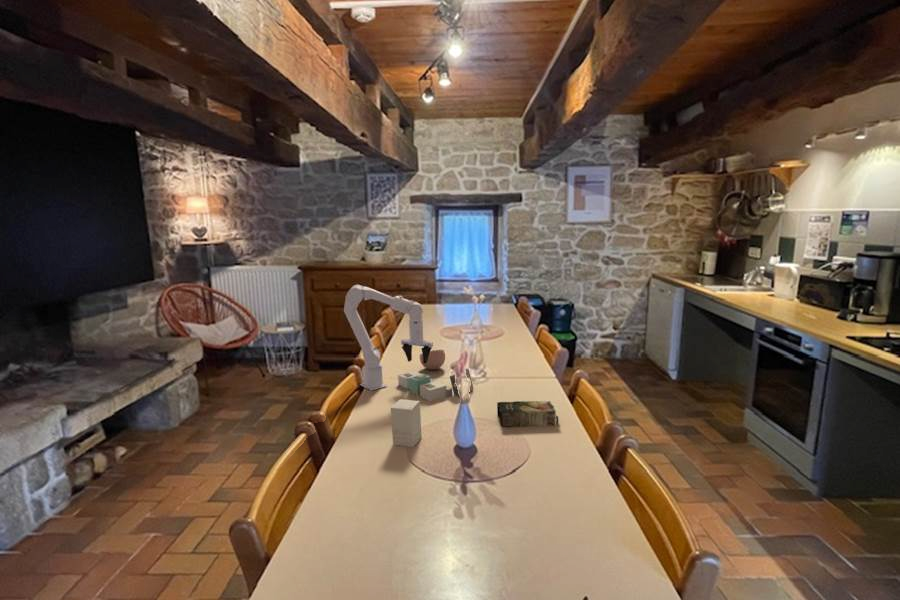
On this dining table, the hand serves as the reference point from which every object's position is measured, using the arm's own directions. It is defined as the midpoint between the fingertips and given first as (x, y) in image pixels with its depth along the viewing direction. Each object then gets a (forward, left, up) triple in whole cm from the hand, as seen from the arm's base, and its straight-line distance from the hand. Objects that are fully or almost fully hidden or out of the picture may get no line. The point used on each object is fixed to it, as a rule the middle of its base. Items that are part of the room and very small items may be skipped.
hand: (417, 361), depth 199 cm
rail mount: (+7, -2, -10) cm, 12 cm away
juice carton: (+55, +9, -10) cm, 57 cm away
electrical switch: (+20, +8, -10) cm, 24 cm away
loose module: (+7, -4, -10) cm, 13 cm away
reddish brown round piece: (-12, +16, -10) cm, 22 cm away
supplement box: (+41, -31, -10) cm, 52 cm away
